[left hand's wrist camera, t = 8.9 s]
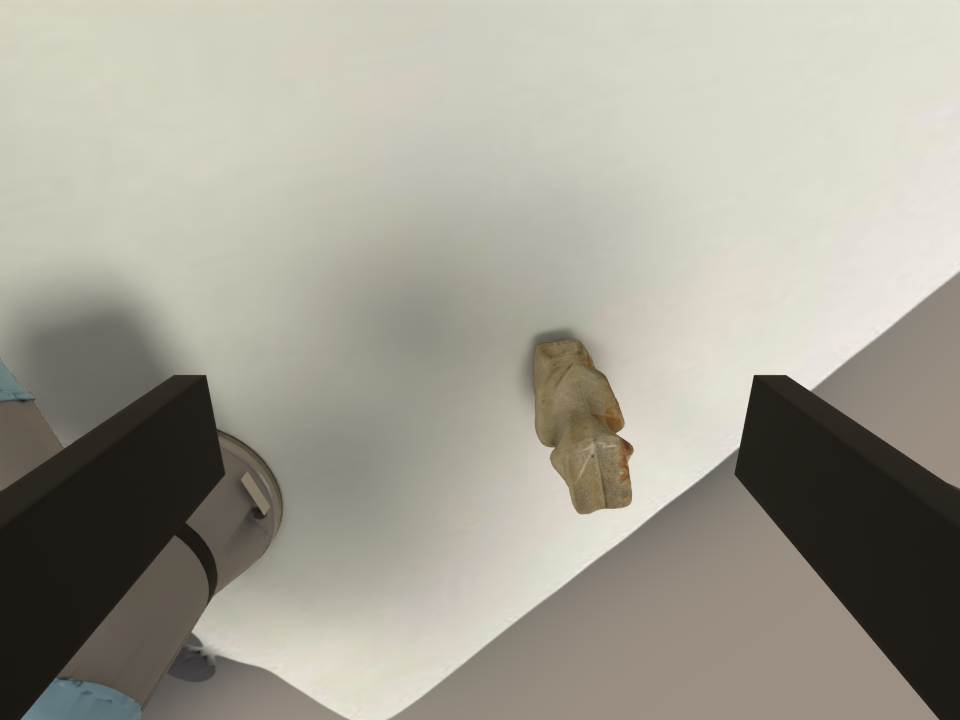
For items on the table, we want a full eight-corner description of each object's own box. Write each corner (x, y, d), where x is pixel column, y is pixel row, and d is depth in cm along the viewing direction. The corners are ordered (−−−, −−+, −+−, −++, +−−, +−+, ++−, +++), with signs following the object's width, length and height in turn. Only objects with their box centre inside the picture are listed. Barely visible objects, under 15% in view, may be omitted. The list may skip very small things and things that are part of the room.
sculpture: (528, 414, 44) (551, 529, 30) (519, 334, 42) (540, 418, 28) (596, 406, 44) (652, 518, 30) (592, 325, 41) (649, 405, 27)
